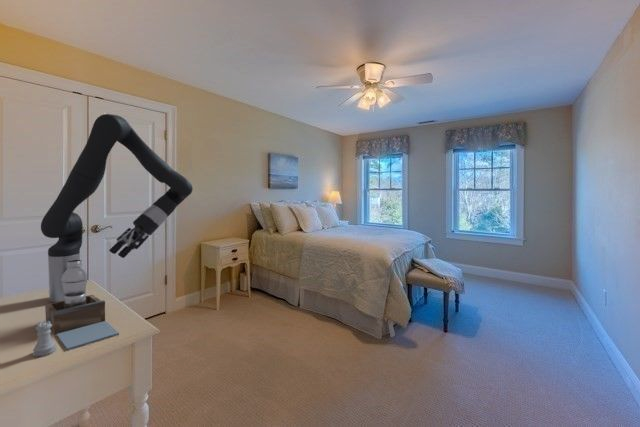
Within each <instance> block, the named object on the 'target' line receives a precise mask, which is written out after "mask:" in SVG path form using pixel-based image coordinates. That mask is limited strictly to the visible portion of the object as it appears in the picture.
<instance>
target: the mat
mask: <svg viewBox="0 0 640 427" xmlns="http://www.w3.org/2000/svg"><path fill="white" fill-rule="evenodd" d="M119 335H120V333H119V332H118V331H117V329H115V328H114V327H113V326H112V325H111V324H110V323H109V322H107V321H106V320H105V321H103V322H99V323H96V324H92V325H88V326H84V327H81V328H77V329H73V330H69V331H66V332H62V333H58V334H57V335H56V337H57V338H58V339H57V340H59V341H60V343H61V344H62V345H63V346H64V348H65V350H66V351H70V350H75V349H77V348H80V347H83V346H84V347H85V346H87V345H90V344H93V343H97V342H100V341H104V340H106V339H110V338H113V337H117V336H119Z"/></svg>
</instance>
